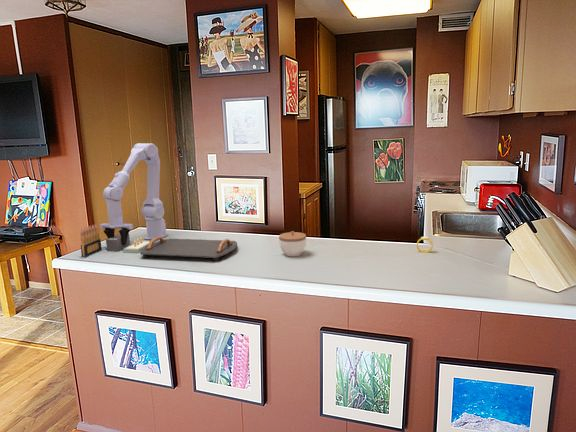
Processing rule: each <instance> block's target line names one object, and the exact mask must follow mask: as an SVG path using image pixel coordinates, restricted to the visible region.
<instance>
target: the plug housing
mask: <svg viewBox="0 0 576 432" xmlns="http://www.w3.org/2000/svg"><path fill="white" fill-rule="evenodd" d="M105 243H106V244H105V245H106V250H107V251H106V252H120V251H122V250H123V249H124V248H126V247H128V246H130V245H131V240H130V233H129V234H128V237H127V242H126V245H124V246H123V245H122V240H121V236H120V233H118V234H114V236H113V237H111V238H109V239H108V238H107V239H105Z"/></svg>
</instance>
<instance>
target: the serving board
mask: <svg viewBox="0 0 576 432" xmlns="http://www.w3.org/2000/svg"><path fill="white" fill-rule="evenodd" d="M149 241H150V242H149V245H148V246H146V247H145V248H144V249H143V250H142V251H141V252H139V253H140V255H142V258H143V259H147V258H149V256H166V257H168V256H169V257H191V258H206V259H207V258H208V259H209V258H210V259H211V258H212V259H213V261H214V262H219V261H220V257H223V256H226V255H227V254H230V253H231V252H233V251H235V250H236V249H237V247H238V242H237V241H236V240H231V239H229V238H224V239H223V240H218V239H193V238H191V239H190V238H164V237H163V238H162V237H156V238H154V239H150V240H149Z"/></svg>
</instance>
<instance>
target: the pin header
mask: <svg viewBox="0 0 576 432" xmlns="http://www.w3.org/2000/svg"><path fill="white" fill-rule="evenodd" d="M150 241H151V240H143V237H142V236H139V237H137V238H136V239H133V243H132V244H130V245H129V246H127V247H125V248H123V249H122V252H123V253H124V254H127V253H130V254H139V253H141V251H142V250H143V249H144V248H145V247H146V246H148V245H149V242H150Z"/></svg>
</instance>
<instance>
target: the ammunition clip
mask: <svg viewBox="0 0 576 432" xmlns="http://www.w3.org/2000/svg"><path fill="white" fill-rule="evenodd" d="M80 244H81V245H80V251H81V258H88V257H90V256H92V255H94V254H96V253H98V252H100V251H102V250H103V249H102V248H103V247H102V242H101V238H100V234H99V228H98V225H97V223H94V224H92V225H89V226H86V227H83V228H80Z"/></svg>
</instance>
